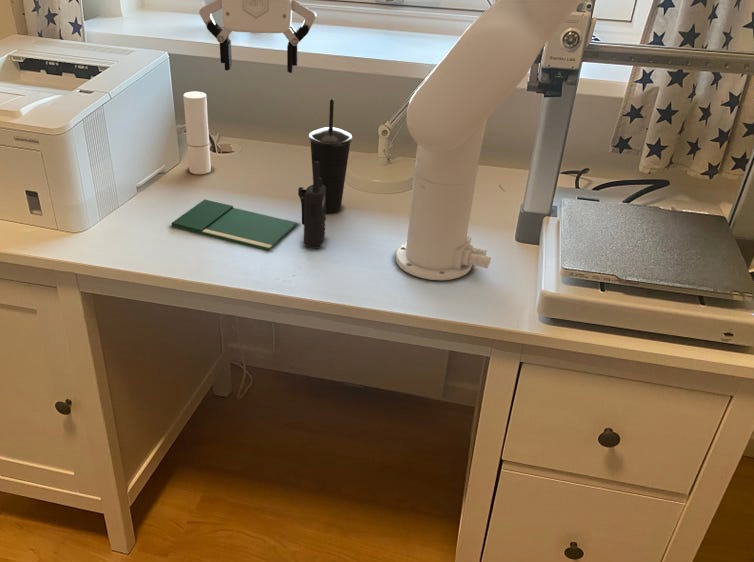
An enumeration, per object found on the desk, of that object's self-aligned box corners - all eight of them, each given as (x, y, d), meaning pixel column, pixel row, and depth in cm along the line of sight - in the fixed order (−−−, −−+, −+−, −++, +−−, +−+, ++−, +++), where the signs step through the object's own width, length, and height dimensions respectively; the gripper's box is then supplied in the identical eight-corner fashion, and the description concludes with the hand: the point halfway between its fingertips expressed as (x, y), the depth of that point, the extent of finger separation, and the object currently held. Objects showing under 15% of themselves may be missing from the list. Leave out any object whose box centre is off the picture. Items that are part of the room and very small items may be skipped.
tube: (215, 170, 152) (210, 95, 144) (197, 176, 150) (191, 99, 141) (202, 164, 155) (197, 90, 146) (185, 169, 152) (178, 94, 144)
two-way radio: (321, 251, 127) (323, 165, 118) (295, 248, 127) (295, 163, 118) (326, 236, 131) (329, 153, 122) (301, 233, 132) (302, 150, 123)
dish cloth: (297, 224, 134) (297, 220, 134) (268, 250, 126) (268, 246, 126) (204, 203, 140) (204, 199, 140) (171, 226, 132) (171, 222, 131)
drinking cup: (344, 219, 137) (349, 108, 125) (303, 213, 138) (304, 103, 126) (351, 201, 143) (357, 95, 131) (312, 197, 144) (315, 90, 132)
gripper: (190, -54, 104) (199, 74, 114) (316, -50, 104) (314, 78, 114) (199, -62, 110) (207, 60, 120) (317, -57, 110) (315, 64, 120)
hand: (259, 69), depth 117 cm, fingers open, 9 cm apart
